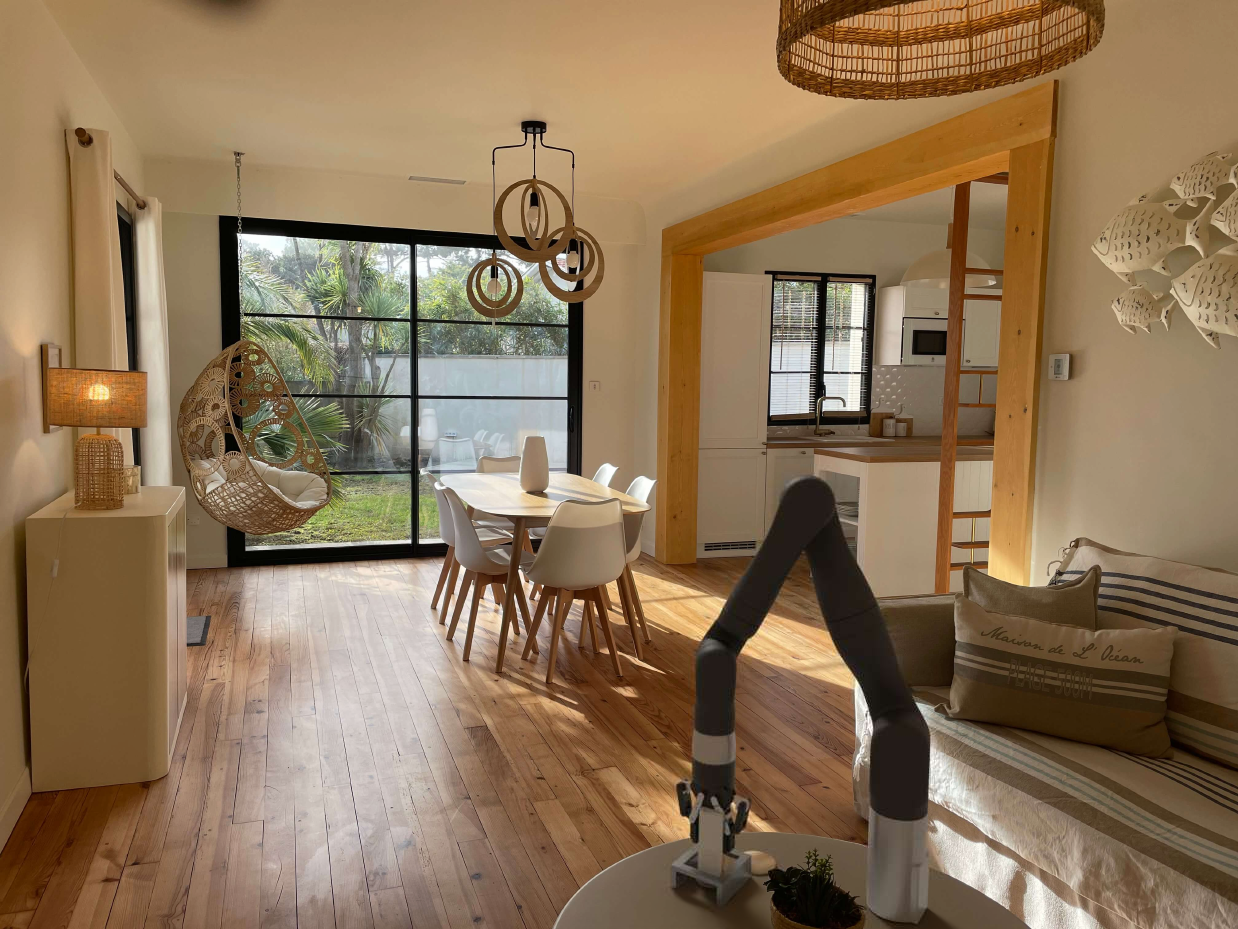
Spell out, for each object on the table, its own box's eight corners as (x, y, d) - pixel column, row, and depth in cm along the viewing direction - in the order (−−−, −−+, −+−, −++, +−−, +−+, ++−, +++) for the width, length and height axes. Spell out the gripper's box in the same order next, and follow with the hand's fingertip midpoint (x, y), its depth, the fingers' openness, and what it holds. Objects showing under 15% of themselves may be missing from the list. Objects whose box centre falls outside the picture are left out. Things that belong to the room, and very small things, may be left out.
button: (733, 877, 154) (733, 869, 154) (717, 892, 150) (718, 884, 150) (705, 867, 158) (705, 859, 157) (689, 881, 153) (689, 873, 153)
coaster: (781, 861, 160) (781, 858, 160) (765, 879, 155) (765, 876, 155) (747, 850, 164) (747, 847, 164) (730, 866, 159) (730, 863, 159)
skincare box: (722, 882, 150) (723, 815, 149) (697, 879, 151) (698, 812, 150) (725, 863, 156) (726, 799, 155) (701, 860, 157) (702, 796, 156)
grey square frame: (751, 876, 155) (751, 855, 155) (721, 906, 146) (722, 883, 146) (701, 859, 161) (702, 838, 161) (670, 887, 152) (671, 864, 152)
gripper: (761, 756, 151) (758, 850, 152) (688, 737, 159) (687, 826, 160) (741, 772, 145) (738, 869, 146) (667, 750, 153) (665, 843, 154)
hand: (711, 846), depth 153 cm, fingers closed on skincare box, 5 cm apart
